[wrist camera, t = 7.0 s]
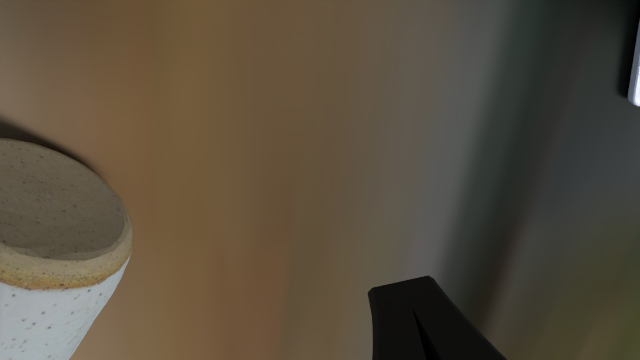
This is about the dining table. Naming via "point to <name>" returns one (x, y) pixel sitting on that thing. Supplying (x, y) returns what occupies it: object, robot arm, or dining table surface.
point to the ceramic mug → (55, 250)
